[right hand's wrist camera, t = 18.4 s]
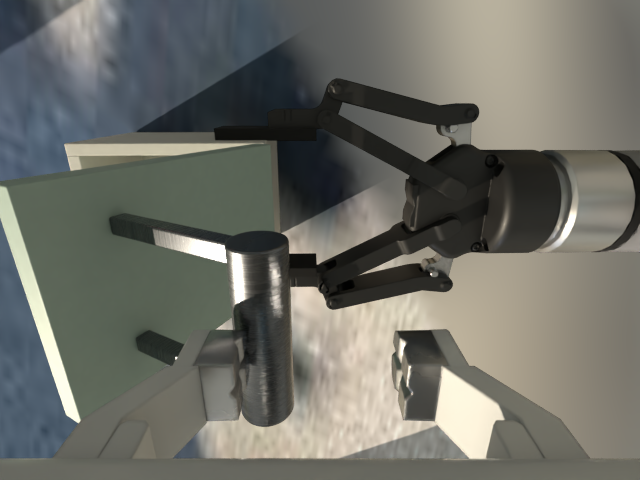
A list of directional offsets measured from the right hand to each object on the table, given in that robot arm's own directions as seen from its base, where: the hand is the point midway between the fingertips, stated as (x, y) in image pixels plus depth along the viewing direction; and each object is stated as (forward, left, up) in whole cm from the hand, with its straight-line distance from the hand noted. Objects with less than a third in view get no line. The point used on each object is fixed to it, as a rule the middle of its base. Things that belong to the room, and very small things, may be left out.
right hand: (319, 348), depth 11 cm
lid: (-3, -6, -8) cm, 10 cm away
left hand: (-3, -6, -17) cm, 18 cm away
